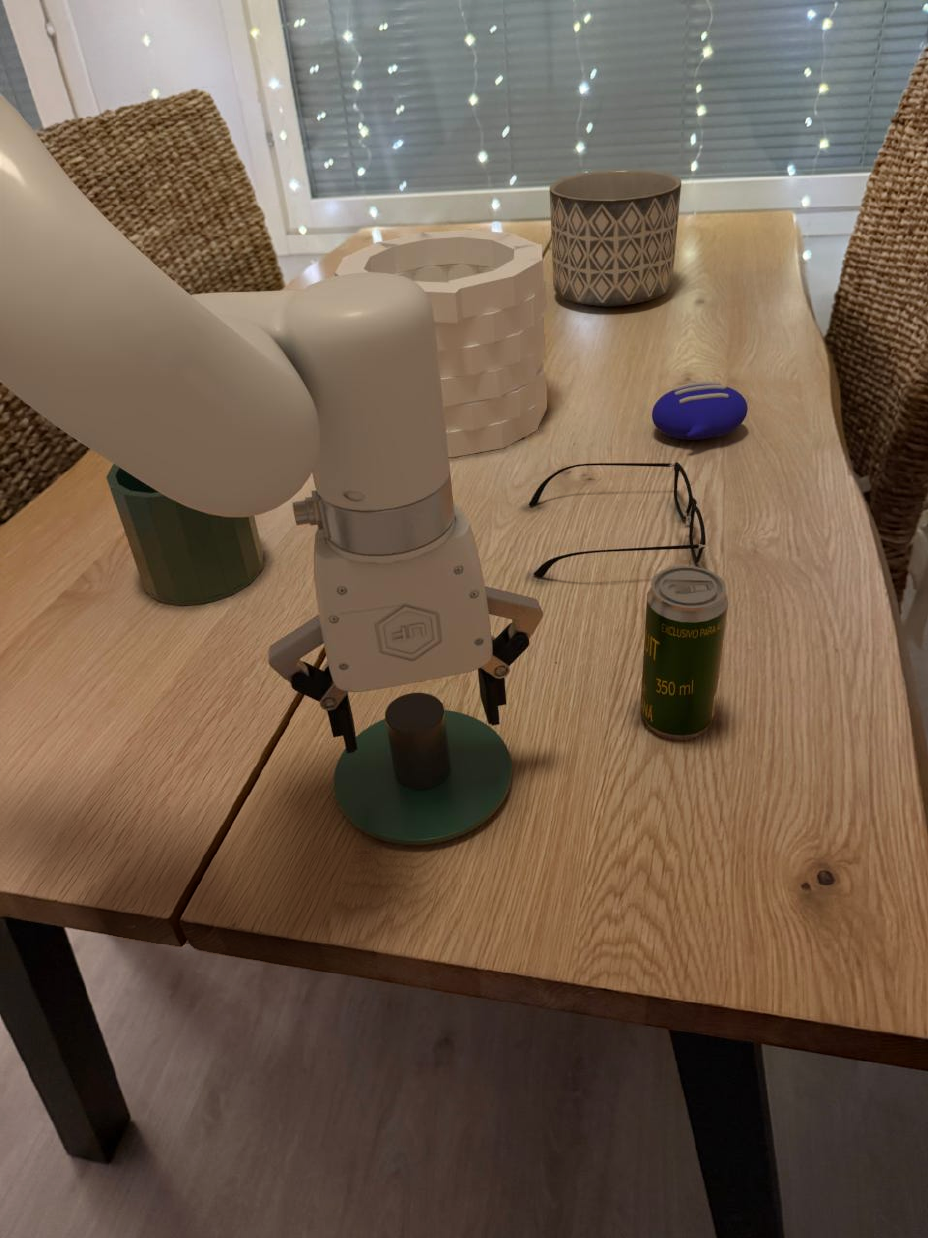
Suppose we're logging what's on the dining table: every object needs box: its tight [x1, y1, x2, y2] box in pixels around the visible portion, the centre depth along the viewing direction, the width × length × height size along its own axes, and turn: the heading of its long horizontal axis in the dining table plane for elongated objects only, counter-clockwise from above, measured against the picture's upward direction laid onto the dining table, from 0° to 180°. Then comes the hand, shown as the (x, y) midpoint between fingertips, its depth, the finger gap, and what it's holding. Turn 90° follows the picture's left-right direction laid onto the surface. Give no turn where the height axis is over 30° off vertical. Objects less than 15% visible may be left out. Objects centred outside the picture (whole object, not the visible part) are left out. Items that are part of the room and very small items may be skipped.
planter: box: [549, 168, 682, 308], centre depth 141 cm, size 19×19×16 cm
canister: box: [106, 463, 265, 606], centre depth 86 cm, size 12×12×12 cm
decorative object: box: [651, 380, 749, 441], centre depth 103 cm, size 10×6×10 cm
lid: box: [333, 692, 513, 846], centre depth 64 cm, size 13×13×7 cm
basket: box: [334, 229, 548, 458], centre depth 109 cm, size 25×24×19 cm
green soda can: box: [639, 565, 729, 741], centre depth 65 cm, size 5×5×12 cm
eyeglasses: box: [528, 461, 707, 578], centre depth 88 cm, size 16×16×4 cm
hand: (420, 725), depth 62 cm, fingers open, 9 cm apart
